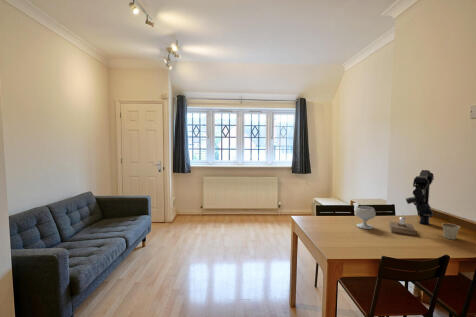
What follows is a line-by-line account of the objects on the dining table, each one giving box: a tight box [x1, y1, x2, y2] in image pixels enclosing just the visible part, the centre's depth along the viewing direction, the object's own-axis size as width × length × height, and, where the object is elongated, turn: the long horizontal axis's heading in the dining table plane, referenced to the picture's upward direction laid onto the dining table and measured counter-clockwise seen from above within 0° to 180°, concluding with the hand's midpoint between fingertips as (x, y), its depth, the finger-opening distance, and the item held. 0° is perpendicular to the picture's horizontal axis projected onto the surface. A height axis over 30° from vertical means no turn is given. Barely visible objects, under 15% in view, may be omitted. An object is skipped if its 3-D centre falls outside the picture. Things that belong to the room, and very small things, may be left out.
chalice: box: [354, 205, 377, 230], centre depth 186 cm, size 14×14×15 cm
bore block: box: [389, 220, 417, 237], centre depth 177 cm, size 14×14×4 cm
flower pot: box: [441, 222, 461, 240], centre depth 163 cm, size 9×9×9 cm
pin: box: [399, 216, 406, 227], centre depth 176 cm, size 3×3×9 cm
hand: (419, 215), depth 176 cm, fingers open, 9 cm apart
